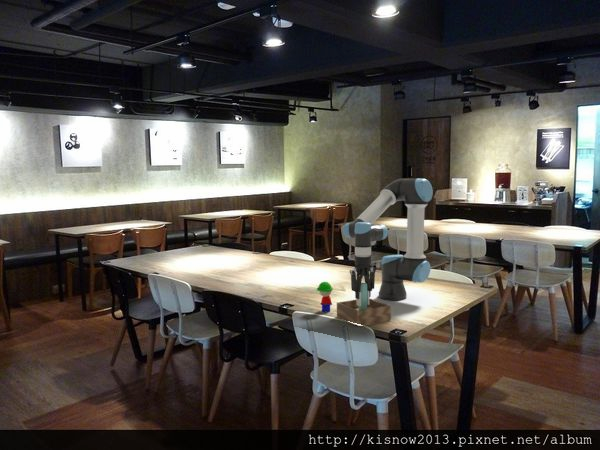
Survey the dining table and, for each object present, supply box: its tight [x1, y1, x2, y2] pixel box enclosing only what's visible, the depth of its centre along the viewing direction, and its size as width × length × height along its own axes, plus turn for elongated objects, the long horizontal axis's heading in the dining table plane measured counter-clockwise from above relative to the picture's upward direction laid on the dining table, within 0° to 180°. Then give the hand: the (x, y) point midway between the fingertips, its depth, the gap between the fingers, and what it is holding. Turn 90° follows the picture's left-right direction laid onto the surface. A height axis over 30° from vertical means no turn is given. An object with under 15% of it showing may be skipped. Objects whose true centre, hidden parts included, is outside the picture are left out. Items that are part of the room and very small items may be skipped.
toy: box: [316, 281, 334, 313], centre depth 245 cm, size 8×8×15 cm
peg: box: [359, 282, 367, 311], centre depth 231 cm, size 4×4×14 cm
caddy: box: [336, 297, 392, 327], centre depth 232 cm, size 18×18×7 cm
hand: (363, 304), depth 231 cm, fingers closed on peg, 4 cm apart
